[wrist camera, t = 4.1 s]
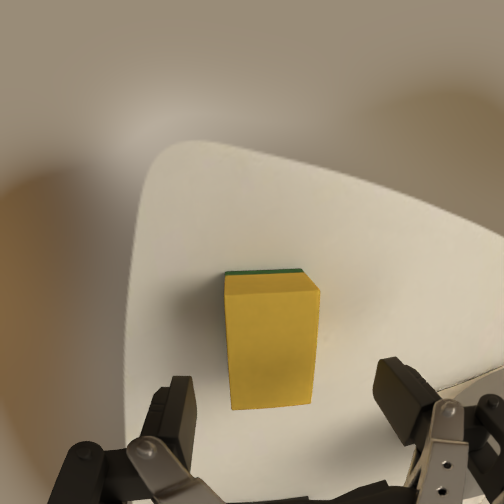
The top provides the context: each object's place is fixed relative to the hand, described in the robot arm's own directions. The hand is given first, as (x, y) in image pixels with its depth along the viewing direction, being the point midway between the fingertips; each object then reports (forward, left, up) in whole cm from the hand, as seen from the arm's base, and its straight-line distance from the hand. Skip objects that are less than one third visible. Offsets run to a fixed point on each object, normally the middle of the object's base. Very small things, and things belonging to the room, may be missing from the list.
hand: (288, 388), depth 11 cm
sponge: (0, 0, -7) cm, 7 cm away
